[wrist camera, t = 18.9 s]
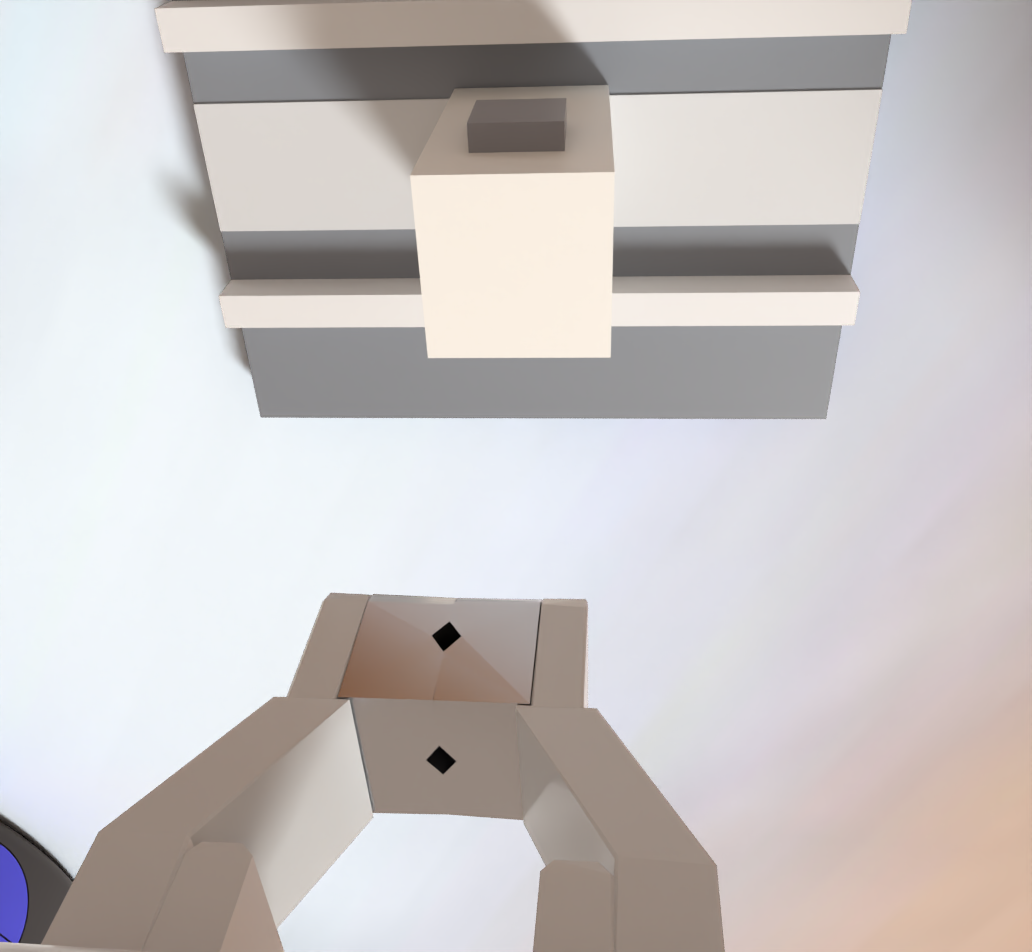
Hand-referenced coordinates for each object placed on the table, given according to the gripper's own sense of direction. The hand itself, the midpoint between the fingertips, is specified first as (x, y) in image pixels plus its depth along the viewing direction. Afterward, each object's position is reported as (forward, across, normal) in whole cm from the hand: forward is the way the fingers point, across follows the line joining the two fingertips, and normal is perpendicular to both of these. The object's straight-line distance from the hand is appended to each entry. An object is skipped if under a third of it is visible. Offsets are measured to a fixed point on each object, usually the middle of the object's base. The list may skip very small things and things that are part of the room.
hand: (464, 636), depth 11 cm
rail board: (+20, +1, 0) cm, 20 cm away
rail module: (+18, 0, 0) cm, 18 cm away
